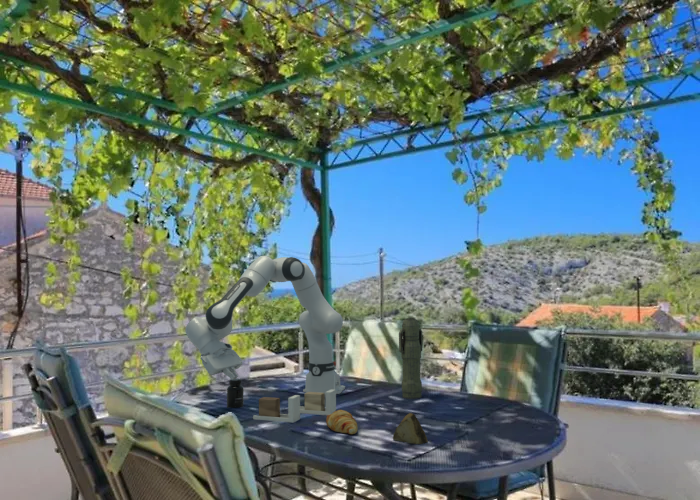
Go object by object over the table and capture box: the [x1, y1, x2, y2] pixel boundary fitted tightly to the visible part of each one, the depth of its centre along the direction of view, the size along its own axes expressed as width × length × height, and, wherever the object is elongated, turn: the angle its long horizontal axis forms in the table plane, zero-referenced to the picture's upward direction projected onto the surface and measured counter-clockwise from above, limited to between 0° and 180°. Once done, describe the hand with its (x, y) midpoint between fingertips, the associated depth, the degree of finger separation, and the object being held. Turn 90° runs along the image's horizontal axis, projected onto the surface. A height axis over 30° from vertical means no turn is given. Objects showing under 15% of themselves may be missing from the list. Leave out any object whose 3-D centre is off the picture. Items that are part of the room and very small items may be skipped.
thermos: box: [398, 317, 424, 400], centre depth 260 cm, size 9×12×35 cm
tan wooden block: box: [304, 392, 326, 411], centre depth 229 cm, size 4×7×8 cm, turn 69°
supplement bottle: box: [226, 378, 244, 409], centre depth 243 cm, size 7×7×12 cm
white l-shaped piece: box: [300, 389, 337, 416], centre depth 229 cm, size 6×17×10 cm, turn 69°
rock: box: [392, 412, 429, 445], centre depth 191 cm, size 11×9×10 cm
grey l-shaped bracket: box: [252, 394, 301, 423], centre depth 219 cm, size 6×17×10 cm, turn 69°
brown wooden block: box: [258, 396, 281, 417], centre depth 220 cm, size 4×7×8 cm, turn 69°
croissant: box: [325, 409, 359, 435], centre depth 207 cm, size 21×10×8 cm, turn 29°
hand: (235, 378), depth 226 cm, fingers closed
